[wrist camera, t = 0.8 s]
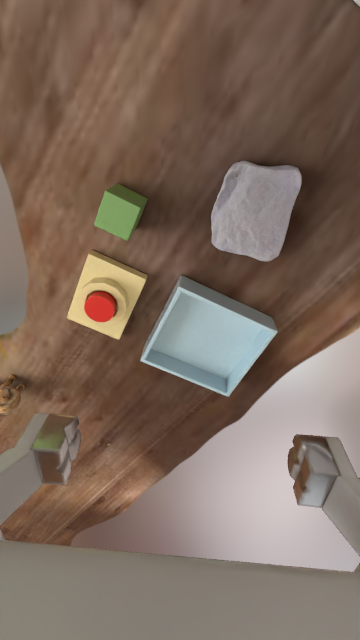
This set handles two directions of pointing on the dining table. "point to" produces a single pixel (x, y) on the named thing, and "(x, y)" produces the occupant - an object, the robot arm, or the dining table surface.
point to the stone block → (254, 209)
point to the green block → (120, 211)
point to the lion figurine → (9, 396)
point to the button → (100, 306)
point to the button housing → (113, 280)
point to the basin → (207, 337)
